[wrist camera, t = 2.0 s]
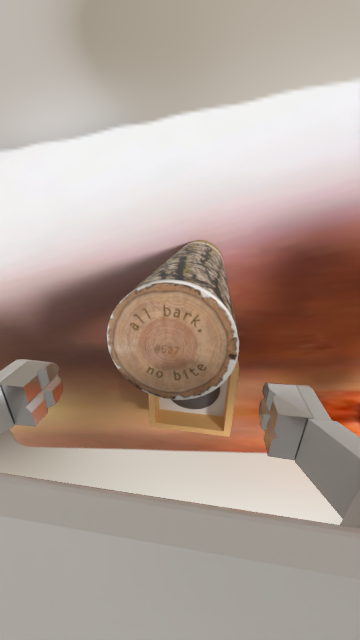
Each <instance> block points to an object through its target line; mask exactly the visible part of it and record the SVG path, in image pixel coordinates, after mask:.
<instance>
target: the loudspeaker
mask: <svg viewBox="0 0 360 640" xmlns="http://www.w3.org/2000/svg"><path fill="white" fill-rule="evenodd" d="M238 338H239V337H238ZM238 375H239V363H238V358H237V362H236V365H235V367H234V369H233V371H232V373H231V374H230V376H229V377H228V378H227V380H226V381H225V382H224V383H223V384H222V385H221V386H219V387H218V388H217V389H215V390H214V391H212V392H210V393H208V394H206V395H203V396H200V397H197V398H193V399H186V400H172V399H165V398H161V397H157V396H154V395H151V394H149V393H148V400H149V420H150V427H158V428H165V429H173V430H181V431H189V432H197V433H205V434H212V435H220V436H228V437H230V430H231V423H232V417H233V410H234V403H235V396H236V389H237V382H238Z"/></svg>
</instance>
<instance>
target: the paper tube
mask: <svg viewBox="0 0 360 640" xmlns="http://www.w3.org/2000/svg"><path fill="white" fill-rule="evenodd" d="M107 343H108V348H109V352H110V355H111V357H112V360H113V362H114V363H115V365H116V367H117V368H118V370H119V371H120V372H121V374H122V375H123V376H124V377H125V378H126V379H127V380H128V381H129V382H131V383H132V384H133V385H134V386H136V387H137V388H139V389H141V390H143V391H144V392H146V393H149V394H151V395H154V396H157V397H161V398H165V399H172V400H186V399H193V398H197V397H200V396H203V395H206V394H208V393H210V392H212V391H214V390H215V389H217V388H218V387H219V386H221V385H222V384H223V383H224V382H225V381H226V380H227V378H228V377H229V376H230V374H231V373H232V371H233V369H234V367H235V365H236V362H237V358H238V353H239V338H238V331H237V326H236V321H235V316H234V312H233V307H232V302H231V297H230V292H229V287H228V283H227V278H226V273H225V268H224V263H223V259H222V256H221V253H220V251H219V250H218V248H217V247H216V246H215V245H213V244H212V243H210V242H208V241H204V240H196V241H192V242H190V243H188V244H186V245H185V246H184V247H183V248H181V249H180V250H179V251H178V252H177V253H175V254H174V255H173V256H172V257H171V258H170V259H168V260H167V261H166V262H165V263H164V264H162V265H161V266H160V267H159V268H158V269H157V270H155V271H154V272H153V273H152V274H151V275H149V276H148V277H147V278H146V279H145V280H144V281H142V282H141V283H140V284H139V285H138V286H136V287H135V288H134V289H133V290H132V291H131V292H129V293H128V294H127V295H126V296H125V297H124V298H123V299H122V300H121V301H120V303H119V304H118V305H117V306H116V308H115V309H114V311H113V313H112V315H111V317H110V320H109V323H108V328H107Z"/></svg>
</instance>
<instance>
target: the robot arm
mask: <svg viewBox="0 0 360 640" xmlns="http://www.w3.org/2000/svg"><path fill="white" fill-rule="evenodd" d="M59 372H60V371H59V367H58V365H57V364H56V363H53V362H44V361H36V360H26V359H19V360H15V361H14V362H13V363H11V364H10V365H8V366H7V367H5V368H4V369H3V370H1V371H0V434H2V433H3V432H5V431H7V430H8V429H10V428H11V427H13V426H14V424H15V425H25V426H37V425H38V423H39V422H40V421H41V420H42V419H43V418H44V417H45V415H46V414H47V413H48V408H49V407H51V406H53V405H54V404H56V402H57V401H58V400H59V399H60V397H61V394H62V392H63V384H62V380H61V379H60V378H59V377H58V376H57V375H58V374H59ZM262 392H263V395H264V399H262V400H261V401H260V407H259V419H260V425H261V428H262V429H263V430H264V431H265V435H264V442H265V446H266V450H267V454H268V456H270V457H277V458H283V459H290V460H295V462H296V464H297V465H298V466H299V467H300V468H301V470H303V472H304V473H305V474H306V476H307V477H308V478H309V479H310V480H311V481H312V483H313V484H314V485H315V486H316V487H317V489H318V490H319V491H320V492H321V493H322V495H323V496H324V497H325V498H326V499H327V500H328V502H329V503H330V504H331V505H332V506H333V508H334V509H335V510H336V511H337V512H338V514H339V515H340V516H341V517H342V518H343V521H342V523H341V524H340V525H334V524H328V523H322V522H315V521H308V520H303V519H296V518H290V517H283V516H277V515H270V514H264V513H257V512H251V511H244V510H238V509H232V508H225V507H218V506H212V505H205V504H199V503H192V502H185V501H179V500H173V499H166V498H160V497H153V496H146V495H140V494H133V493H127V492H121V491H114V490H108V489H101V488H95V487H89V486H82V485H76V484H69V483H63V482H57V481H50V480H43V479H37V478H31V477H24V476H18V475H12V474H5V473H0V640H360V437H358V436H357V435H355V434H354V433H353V432H351V431H350V430H348V429H347V428H346V427H344V426H343V425H341V424H340V423H338V422H337V421H332V420H331V418H330V417H329V415H328V414H327V412H326V410H325V409H324V407H323V405H322V404H321V402H320V400H319V399H318V397H317V396H316V394H315V392H314V391H313V389H312V387H310V386H308V385H288V384H276V383H265V384H264V386H263V391H262Z"/></svg>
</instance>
